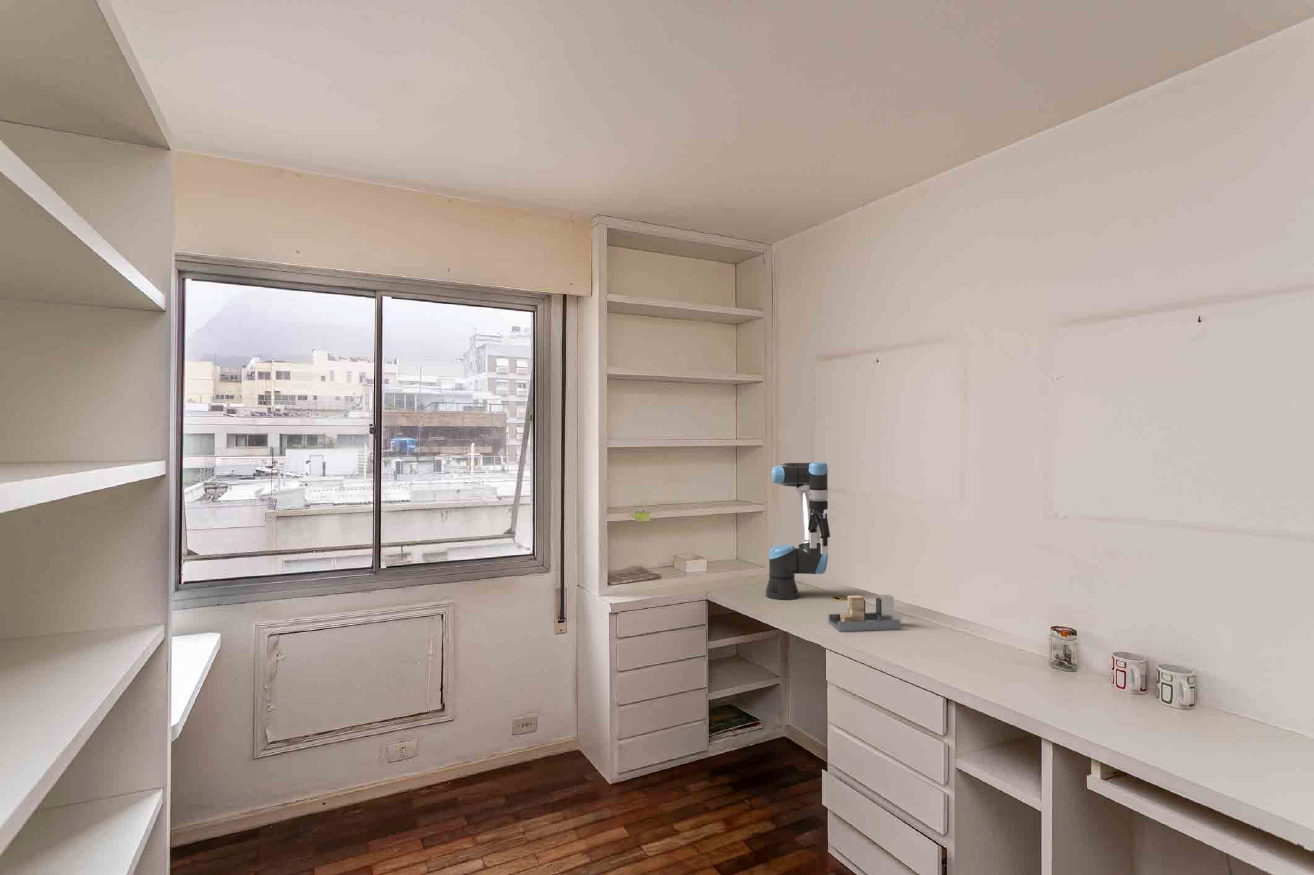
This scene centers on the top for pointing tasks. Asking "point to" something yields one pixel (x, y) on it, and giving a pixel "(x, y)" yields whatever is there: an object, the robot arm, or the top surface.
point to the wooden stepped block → (854, 609)
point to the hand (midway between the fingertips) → (818, 551)
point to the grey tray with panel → (871, 618)
